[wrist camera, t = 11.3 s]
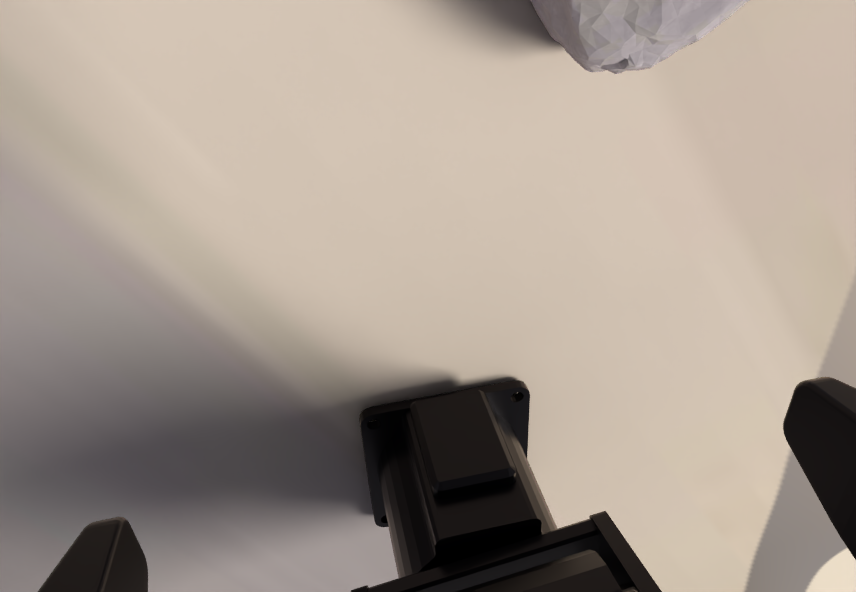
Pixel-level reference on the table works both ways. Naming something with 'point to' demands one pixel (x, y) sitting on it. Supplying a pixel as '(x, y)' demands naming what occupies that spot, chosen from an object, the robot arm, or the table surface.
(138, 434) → the table surface
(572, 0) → the stone block
